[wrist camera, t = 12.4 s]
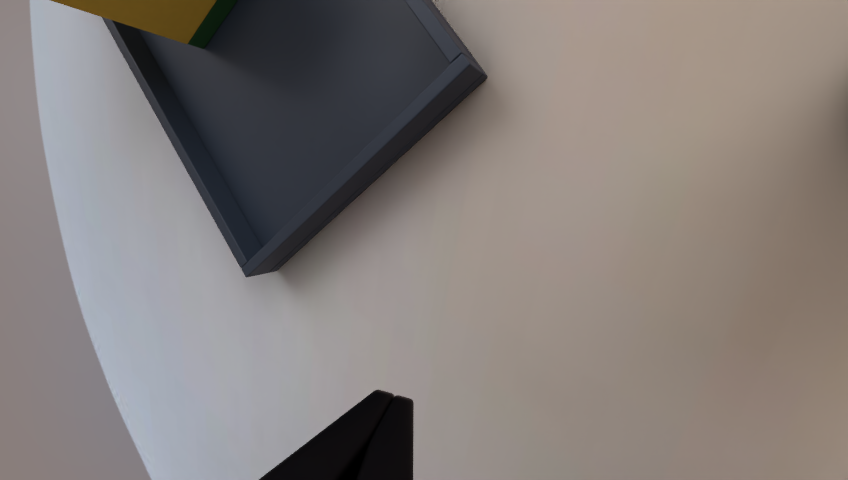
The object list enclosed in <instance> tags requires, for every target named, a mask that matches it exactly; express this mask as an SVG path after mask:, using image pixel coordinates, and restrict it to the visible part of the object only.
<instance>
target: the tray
mask: <svg viewBox="0 0 848 480" xmlns="http://www.w3.org/2000/svg"><path fill="white" fill-rule="evenodd" d="M102 18H103V20H104V22H105V24H106V26H107V27H108V29H109V31H110V33H111V35H112V36H113V38H114V40H115V42H116V44H117V45H118V47H119V49H120V51H121V53H122V54H123V56H124V58H125V60H126V62H127V63H128V65H129V67H130V69H131V71H132V72H133V74H134V76H135V78H136V80H137V82H138V83H139V85H140V87H141V89H142V91H143V92H144V94H145V96H146V98H147V100H148V101H149V103H150V105H151V107H152V109H153V110H154V112H155V114H156V116H157V118H158V119H159V121H160V123H161V125H162V127H163V128H164V130H165V132H166V134H167V136H168V137H169V139H170V141H171V143H172V145H173V146H174V148H175V150H176V152H177V154H178V155H179V157H180V159H181V161H182V163H183V165H184V166H185V168H186V170H187V172H188V174H189V175H190V177H191V179H192V181H193V183H194V184H195V186H196V188H197V190H198V192H199V193H200V195H201V197H202V199H203V201H204V202H205V204H206V206H207V208H208V210H209V211H210V213H211V215H212V217H213V219H214V220H215V222H216V224H217V226H218V228H219V229H220V231H221V233H222V235H223V237H224V238H225V240H226V242H227V244H228V246H229V248H230V249H231V251H232V253H233V255H234V257H235V258H236V260H237V262H238V264H239V266H240V267H241V268H242V271H243V273H244V274H245V276H246V277H251V276H255V275H260V274H265V273H270V272H274V271H277V270H278V269H279V268H280V267H281V266H282V265H283V264H284V263H285V262H286V261H287V260H289V259H290V258H291V257H292V256H293V255H294V254H295V253H296V252H297V251H298V250H299V249H301V248H302V247H303V246H304V245H305V244H306V243H307V242H308V241H309V240H310V239H311V238H313V237H314V236H315V235H316V234H317V233H318V232H319V231H320V230H321V229H322V228H324V227H325V226H326V225H327V224H328V223H329V222H330V221H331V220H332V219H333V218H334V217H336V216H337V215H338V214H339V213H340V212H341V211H342V210H343V209H344V208H345V207H346V206H348V205H349V204H350V203H351V202H352V201H353V200H354V199H355V198H356V197H357V196H358V195H360V194H361V193H362V192H363V191H364V190H365V189H366V188H367V187H368V186H369V185H370V184H372V183H373V182H374V181H375V180H376V179H377V178H378V177H379V176H380V175H381V174H382V173H384V172H385V171H386V170H387V169H388V168H389V167H390V166H391V165H392V164H393V163H394V162H396V161H397V160H398V159H399V158H400V157H401V156H402V155H403V154H404V153H405V152H407V151H408V150H409V149H410V148H411V147H412V146H413V145H414V144H415V143H416V142H417V141H419V140H420V139H421V138H422V137H423V136H424V135H425V134H426V133H427V132H428V131H429V130H431V129H432V128H433V127H434V126H435V125H436V124H437V123H438V122H439V121H440V120H441V119H443V118H444V117H445V116H446V115H447V114H448V113H449V112H450V111H451V110H452V109H453V108H455V107H456V106H457V105H458V104H459V103H460V102H461V101H462V100H463V99H464V98H465V97H467V96H468V95H469V94H470V93H471V92H472V91H473V90H474V89H475V88H476V87H477V86H479V85H480V84H481V83H482V82H483V81H484V80H485V79H486V78H487V75H486V73H485V72H484V71H483V69H482V68H481V67H480V65H479V64H478V63H477V61H476V60H475V58H474V57H473V56H472V54H471V53H470V52H469V50H468V49H467V48H466V46H465V45H464V44H463V42H462V41H461V40H460V38H459V37H458V36H457V34H456V33H455V32H454V30H453V29H452V28H451V26H450V25H449V23H448V22H447V21H446V19H445V18H444V17H443V15H442V14H441V13H440V11H439V10H438V9H437V7H436V6H435V5H434V3H433V2H432V1H431V0H238V1H237V2H236V4H235V5H234V6H233V8H232V9H231V11H230V12H229V14H228V15H227V16H226V18H225V19H224V21H223V22H222V24H221V25H220V27H219V28H218V29H217V31H216V32H215V34H214V35H213V37H212V38H211V40H210V41H209V42H208V44H207V45H206V47H205V48H204V49H201V48H198V47H195V46H192V45H189V44H185V43H182V42H178V41H175V40H172V39H169V38H166V37H163V36H160V35H157V34H154V33H151V32H147V31H144V30H141V29H138V28H135V27H132V26H129V25H126V24H123V23H120V22H116V21H113V20H110V19H107V18H104V17H102Z"/></svg>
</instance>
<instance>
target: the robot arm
mask: <svg viewBox="0 0 848 480" xmlns="http://www.w3.org/2000/svg"><path fill="white" fill-rule="evenodd" d="M259 480H413V400H412V399H409V398H406V397H402V396H399V395H397V396H395V397H394V395H393V394H392V393H388V392H385V391H381V390H375V391H374V392H372V393H371V394H370V395H368V396H367V397H366V398H364V399H363V400H362V401H361V402H359V403H358V404H357V405H355V406H354V407H353V408H351V409H350V410H349V411H348V412H346V413H345V414H344V415H342V416H341V417H340V418H338V419H337V420H336V421H335V422H333V423H332V424H331V425H329V426H328V427H327V428H325V429H324V430H323V431H322V432H320V433H319V434H318V435H316V436H315V437H314V438H312V439H311V440H310V441H309V442H307V443H306V444H305V445H303V446H302V447H301V448H299V449H298V450H297V451H296V452H294V453H293V454H292V455H290V456H289V457H288V458H286V459H285V460H284V461H282V462H281V463H280V464H279V465H277V466H276V467H275V468H273V469H272V470H271V471H269V472H268V473H267V474H266V475H264V476H263V477H262V478H260V479H259Z"/></svg>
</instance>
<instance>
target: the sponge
mask: <svg viewBox="0 0 848 480" xmlns="http://www.w3.org/2000/svg"><path fill="white" fill-rule="evenodd" d="M51 1H54V2H57V3H61V4H64V5H67V6H70V7H73V8H76V9H79V10H82V11H85V12H89V13H92V14H95V15H98V16H101V17H104V18H107V19H110V20H113V21H116V22H120V23H123V24H126V25H129V26H132V27H135V28H138V29H141V30H144V31H147V32H151V33H154V34H157V35H160V36H163V37H166V38H169V39H172V40H175V41H178V42H182V43H185V44H189V45H192V46H195V47H198V48H201V49H204V48H205V47H206V45H207V44H208V42H209V41H210V40H211V38H212V37H213V35H214V34H215V32H216V31H217V29H218V28H219V27H220V25H221V24H222V22H223V21H224V19H225V18H226V16H227V15H228V14H229V12H230V11H231V9H232V8H233V6H234V5H235V4H236V2H237V1H238V0H51Z"/></svg>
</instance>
